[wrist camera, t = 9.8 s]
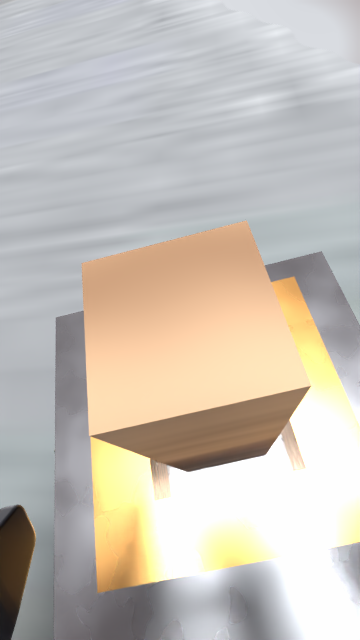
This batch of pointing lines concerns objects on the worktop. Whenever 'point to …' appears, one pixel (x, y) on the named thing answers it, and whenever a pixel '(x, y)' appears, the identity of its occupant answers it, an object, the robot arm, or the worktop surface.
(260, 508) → the square socket
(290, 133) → the worktop surface
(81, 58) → the worktop surface
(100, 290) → the tan square block
